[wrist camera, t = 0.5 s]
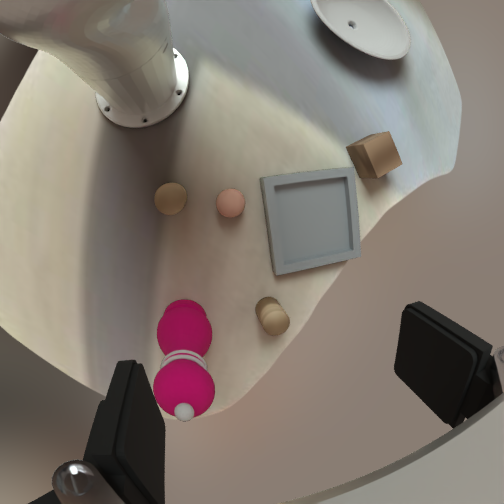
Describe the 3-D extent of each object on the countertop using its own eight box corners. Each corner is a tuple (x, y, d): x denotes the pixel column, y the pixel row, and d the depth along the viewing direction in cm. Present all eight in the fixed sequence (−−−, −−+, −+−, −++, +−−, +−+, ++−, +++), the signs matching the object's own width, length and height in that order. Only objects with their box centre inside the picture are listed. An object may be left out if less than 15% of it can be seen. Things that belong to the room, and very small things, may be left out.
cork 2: (253, 299, 42) (261, 314, 38) (278, 294, 43) (288, 308, 38) (257, 321, 43) (265, 338, 39) (280, 316, 44) (290, 331, 39)
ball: (212, 190, 38) (214, 191, 34) (240, 186, 38) (245, 186, 35) (217, 217, 39) (219, 221, 35) (244, 213, 39) (249, 216, 36)
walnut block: (345, 147, 40) (363, 144, 35) (370, 134, 40) (389, 131, 35) (359, 177, 41) (377, 178, 36) (382, 164, 41) (402, 164, 37)
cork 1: (157, 185, 36) (151, 186, 32) (184, 180, 37) (182, 180, 32) (162, 213, 37) (157, 217, 32) (189, 207, 38) (188, 211, 33)
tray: (259, 177, 38) (263, 177, 37) (346, 167, 40) (353, 167, 38) (272, 271, 42) (276, 275, 40) (354, 253, 44) (360, 256, 42)
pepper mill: (218, 308, 42) (241, 404, 23) (196, 347, 43) (205, 450, 24) (172, 287, 40) (159, 376, 21) (152, 328, 41) (132, 428, 22)
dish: (286, 32, 34) (297, 17, 29) (311, -22, 32) (323, -37, 27) (385, 86, 38) (404, 78, 34) (398, 28, 36) (415, 18, 31)
